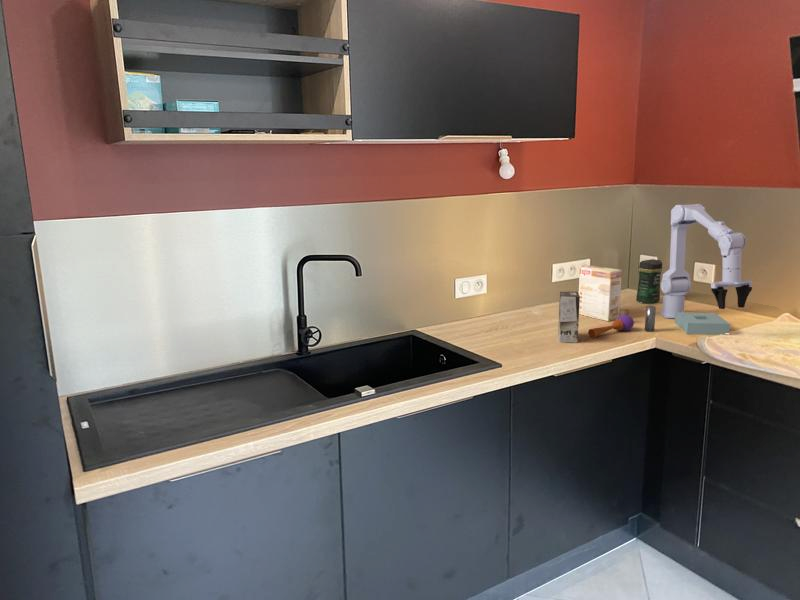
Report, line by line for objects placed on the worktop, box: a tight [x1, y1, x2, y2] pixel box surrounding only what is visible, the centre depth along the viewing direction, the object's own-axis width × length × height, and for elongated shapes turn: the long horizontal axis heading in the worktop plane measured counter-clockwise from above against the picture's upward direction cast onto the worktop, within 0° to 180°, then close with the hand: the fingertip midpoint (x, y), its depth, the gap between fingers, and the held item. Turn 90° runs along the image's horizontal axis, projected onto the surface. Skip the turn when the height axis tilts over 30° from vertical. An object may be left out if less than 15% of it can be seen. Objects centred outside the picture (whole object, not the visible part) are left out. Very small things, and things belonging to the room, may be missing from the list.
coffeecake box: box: [578, 265, 623, 322], centre depth 246 cm, size 15×7×20 cm, turn 34°
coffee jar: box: [635, 258, 663, 304], centre depth 269 cm, size 10×8×19 cm
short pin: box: [619, 308, 630, 316], centre depth 238 cm, size 3×3×5 cm
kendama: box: [587, 314, 635, 339], centre depth 224 cm, size 6×6×20 cm
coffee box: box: [557, 291, 580, 343], centre depth 217 cm, size 9×6×16 cm
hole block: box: [674, 311, 731, 336], centre depth 228 cm, size 16×14×4 cm
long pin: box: [644, 305, 657, 333], centre depth 225 cm, size 3×3×9 cm
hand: (731, 308), depth 215 cm, fingers open, 7 cm apart
